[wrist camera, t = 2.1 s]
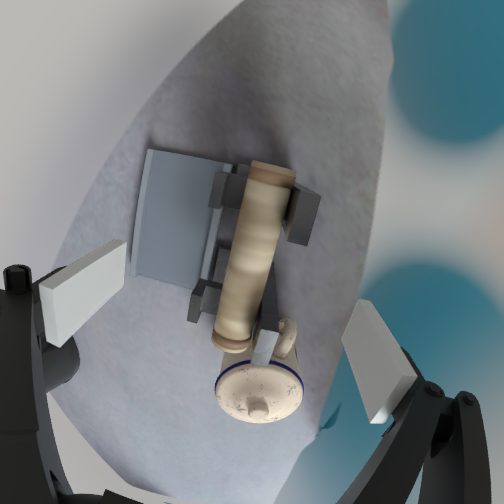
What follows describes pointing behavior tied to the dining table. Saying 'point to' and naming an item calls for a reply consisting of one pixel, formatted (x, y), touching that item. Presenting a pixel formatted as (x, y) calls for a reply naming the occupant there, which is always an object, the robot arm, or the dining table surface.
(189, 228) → the tray
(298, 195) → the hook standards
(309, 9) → the dining table surface
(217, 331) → the wooden cylinder
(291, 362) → the teacup with lid
